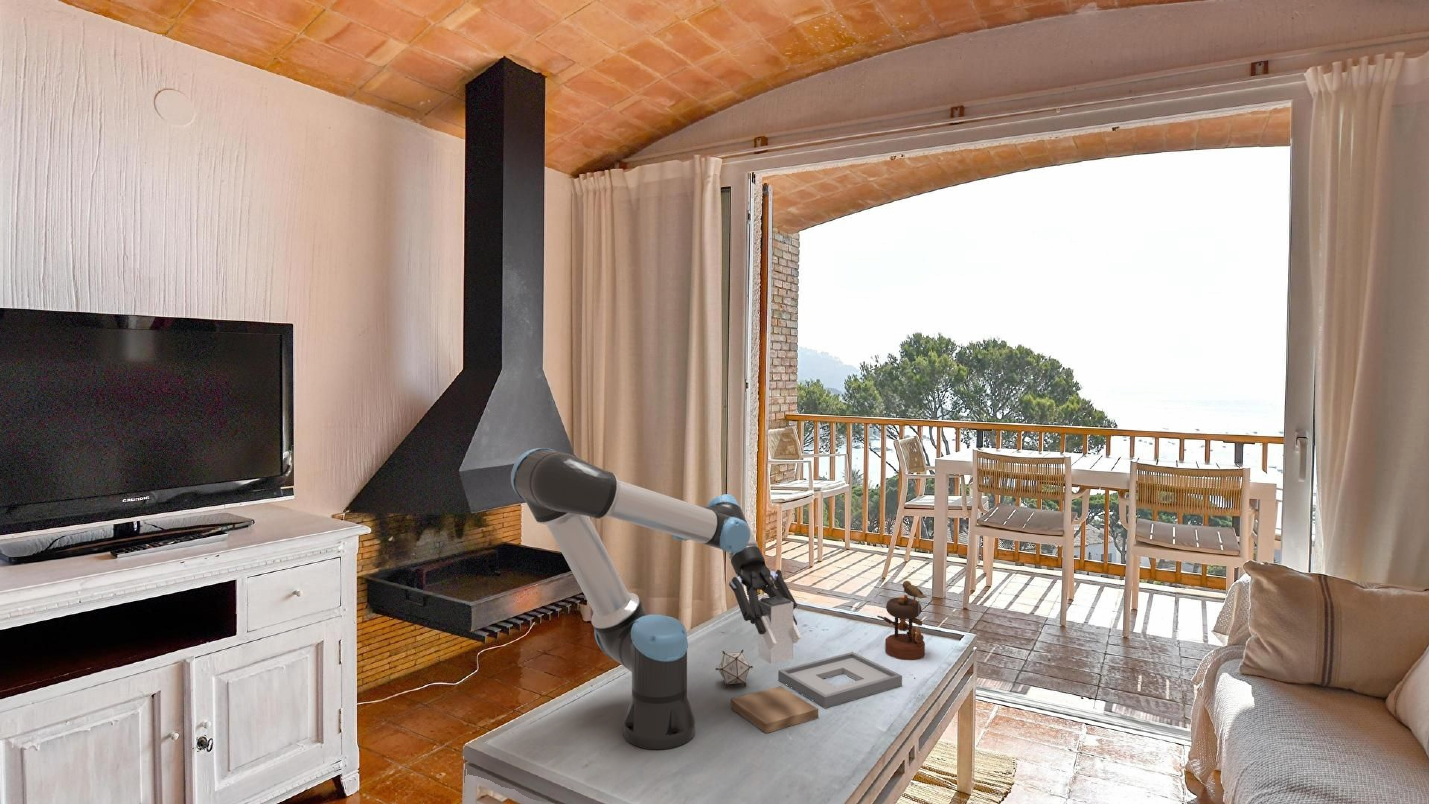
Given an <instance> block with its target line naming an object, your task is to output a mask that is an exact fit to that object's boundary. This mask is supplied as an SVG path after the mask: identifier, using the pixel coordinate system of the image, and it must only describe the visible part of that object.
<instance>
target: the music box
mask: <svg viewBox="0 0 1429 804" xmlns="http://www.w3.org/2000/svg"><path fill="white" fill-rule="evenodd" d="M902 588H903V593H905V594H903V597H902V596H899V597H892V598H889V600H887V602H886V604H885V609H886V612H887V613H888V615H889V616H891V617H892V618H893V617H894V621H893V620H891V619H890V618H888V617H886V616H882V615H876V616H877V618H879V619H882V620H883V621H884V622H886V623H888V624H889V625H891V624H892V626H894V633H893V634H890V635H888V636H887V637H886V638H885V639H884V641H885V643H884V647H885V648H884V649H885V651H884V652H885V654H886V655H887V656H889V657H892V658H893V659H898V660H904V661H917V660H920V659H923V658H924V657H925V655H926V653H925V651H926V643H925V641H924V639H925V636H924V635H923V634H922V633H921V630H920V628H919V627H921V626H923V620H921V619H920V615H921V613H922V605H921V603H920V599H926V598H928V596H927V595H926V594H924V593H923V592H922V590H920V589H919V587H918V586H916V585H913V584H912V582H911V581H909V580H904V581H903V582H902ZM908 596H909V597H910V598H909V597H908ZM911 597H913V598H911ZM916 598H917V599H918V600H916ZM906 620H908V623H907V622H906ZM913 624H915V625H918V628H917V627H916V626H913ZM899 631H900V632H901V631H903V632H906V633H899Z"/></svg>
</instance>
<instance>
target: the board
mask: <svg viewBox="0 0 1429 804" xmlns="http://www.w3.org/2000/svg"><path fill="white" fill-rule="evenodd" d="M730 708H731V709H732V710H733V711H734V712H736V713H737V714H738V715H741V716H742V717H743V718H745V719H746V720H747V721H748V722H749V723H751V724H752V725H754V726H755V727H757V728H758V729H759V730H761V731H762V732H764V733H765V734H768V733H772V732H774V731H779V730H782V729H784V728H789V727H791V726H796V725H798V724H802V723H805V722H808V721H812V720H815V719H818V718H819V708H818V707H816V706H814V705H813V704H811V703H810V702H808V701H806V700H804V699H803V698H801V697H799V696H798V695H796V694H794V693H793V692H791V691H790V690H788V689H786V688H785V687H783V686H782V685H780V686H777V687H772V688H768V689H764V690H761V691H757V692H753V693H749V694H745V695H741V696H738V697H735V698H730ZM811 719H812V720H811Z"/></svg>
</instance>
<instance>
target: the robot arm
mask: <svg viewBox="0 0 1429 804" xmlns="http://www.w3.org/2000/svg"><path fill="white" fill-rule="evenodd" d="M513 464H514V465H513V467H512V468H511V469H512V470H511V472H510V484H511V486H512V490H513V491H514V492H515V494H516V495H517V496H518V498H520V499H522V500H523V501H525V503H526V505H527V507H528V508H529V510H530V512H531V514H532V515H533V518H534V519H535V521H536V523H538V524H541V525H545V526H547V528H548V529H549V531H550V533H551V535H552V537H553V539H554V540H555V543H556V544H557V547H558V548H559V551H560V552H561V554H562V555H563V557H564V559H565V561H566V563H567V565H568V567H569V569H570V570H571V573H572V574H573V576H574V578H575V580H576V581H577V584H578V585H579V588H580V589H581V591H582V593H583V594H584V596H585V598H586V600H587V602H588V604H589V606H590V608H591V610H592V612H593V613H592V616H591V620H590V621H591V624H592V626H593V628H594V631H593V632H594V638H595V642H596V644H597V646H598V647H599V648H600V650H601V651H602V652H603V654H605V656H607V657H609V658H610V659H612V660H614V661H616V662H617V663H619V664H620V665H622V666H623V667H624V668H625V669H627V670H628V671H630V672H631V699H630V701H629V705H628V707H627V711H626V714H625V717H624V720H623V736H624V739H625V740H626V742H628V743H630V744H632V745H634V746H635V747H639V748H642V749H649V750H666V749H671V748H676V747H679V746H682V745H684V744H686V743H688V742H689V741H690V740H692V738H694V736H695V734H696V719H695V716H694V712H693V710H692V708H691V704H690V700H689V697H688V647H689V642H688V636H687V629H686V626H685V625H684V624H683V623H682V622H681V620H679V619H677V618H675V617H672V616H669V615H666V616H665V615H663V614H648V613H647V611H646V609H645V607H644V605H643V604H642V602H641V599H640V598H639V596H638V594H636V593H633V592H629V591H628V589H627V587H626V585H625V583H624V581H623V580H622V577H621V576H620V574H619V572H618V570H617V568H616V566H615V564H614V562H613V560H612V558H611V556H610V555H609V552H608V551H607V549H606V547H605V544H604V542H603V541H602V539H601V537H600V535H599V533H598V530H597V529H596V527H595V525H594V523H593V522H592V520H591V518H595V519H597V520H602V519H604V518H605V517H609V518H613V519H616V520H619V521H623V522H627V523H631V524H633V525H636V526H641V527H644V528H646V529H647V528H648V529H651V530H654V531H658V532H661V533H665V534H668V535H671V537H672V538H673V539H674V540H675V541H692V542H696V543H700V544H702V545H707V546H709V547H713V548H716V549H719V550H722V551H723V552H726V554H727V556H728V559H729V560H730V564H731V566H732V568H733V570H734V572H735V574H736V575H737V576H733V578H731V580H730V581H729V583H728V586H729V587H730V588H731V590H732V591H733V594H734V596H735V599H736V601H737V604H738V607H739V610H740V612H741V615H742V618H743V620H744V621H745V622H750V624H752V625H755V628H756V630H757V634H758V633H759V634H760V635H761V634H762V635H763V637H764V640H765V642H766V644H767V646H768V649H772V648H773V647H774V646H775V644H776V643H777V642H776V640H775V638H774V636H773V633H772V631H771V629H770V627H769V625H768V622H767V620H766V618H765V616H762V617H760V616H761V613H760V606H759V603H758V601H760V599H759V595H758V594H759V593H758V591H759V590H761V591H762V592H763V593H764V594H766V595H767V597H768V598H770V597H775V596H782V597H784V598H786V599H788V600H791V602H793V611H794V610H795V608H796V607H797V606H798V603H797V601H796V600H795V598H794V596H793V595H792V593H791V591H790V589H789V587H788V586H787V584H786V581H785V580H784V579H783V573H782V570H781V569H776V571H773V570H770V568H769V567H768V566H767V564H766V561H765V558H764V555H763V553H762V551H761V548H759V544H758V542H757V540H756V538H755V537H754V534H753V532H752V530H751V527H750V526H749V524H748V522H747V520H746V517H745V514H744V513H743V510H742V508H741V506H740V505H739V503H738V501H737V499H736V498H735V496H733V495H731V494H728V493H727V494H726V493H724V494H722V495H720V496H716V497H714V498H712V499H711V500H710V501H708V504H707V506H706V505H704V506H701V505H697V504H693V503H690V502H688V501H684V500H681V499H678V498H675V497H673V496H668V495H666V494H663V493H660V492H657V491H654V490H650V489H648V488H644V487H642V486H638V485H636V484H632V483H629V482H626V481H622V480H619V479H618V477H617V475H616V474H615V473H614V472H612V471H609V470H605V469H602V468H600V467H598V466H596V465H594V464H592V463H589V462H587V461H586V460H583V459H582V458H579V457H578V456H575V455H572V454H570V453H566V452H562V451H561V452H560V451H557V450H554V449H552V448H548V447H540V448H532V449H529V450H527V451H526V452H524V453H522V454H521V455H520V456H519V457H518V458H517V459H516V461H515V462H514V463H513ZM744 587H745V589H744ZM745 590H746V592H745ZM797 625H798V621H797V619H796V617H795V614H793V644H797V643H798V642H799V641H800V640H801V639H802V635H801V633H800V631H799V629H798V627H797Z"/></svg>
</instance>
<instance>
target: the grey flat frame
mask: <svg viewBox="0 0 1429 804" xmlns="http://www.w3.org/2000/svg"><path fill="white" fill-rule="evenodd" d="M842 674H843V675H845V676H847V677H849V678H851V679H853V680H854V679H855V681H852V682H849V683H848V682H847V683H845V684H842V685H838V686H836V685H834V684H832V683H830V682H829V681H826V680H825V679H827V677H828V678H831V677H830V676H832V677H836V676H840V675H842ZM777 678H778V681H779V682H780V681H781V683H782V682H783V683H782V684H783V685H785V684H787V685H788V687H789V688H790V687H792V688H793V689H792V688H791V689H792V690H794V691H795V692H797V691H798V693H800V695H802V694H803V695H802V696H804V697H806V698H807V697H808V698H807V699H809V700H811V701H812V700H813V701H812V702H814V703H816V704H817V703H818V705H819V706H820V707H822V706H823V707H822V708H824V709H827V708H830V707H834V706H837V705H841V704H844V703H848V702H850V701H854V700H857V699H858V700H859V699H861V698H865V697H868V696H872V695H875V694H878V693H879V694H880V693H881V692H884V690H885V691H889V690H892V689H895V687H896V688H898V687H902V686H903V675H901V674H900V673H898V672H895V671H893V670H891V669H889V668H887V667H885V666H883V665H881V664H879V663H876V662H875V661H872V660H870V659H869V658H866V657H863V656H862V655H859V654H858V653H856V652H853V651H850V652H847V653H842V654H839V655H835V656H830V657H827V658H823V659H818V660H815V661H814V660H813V661H810V662H806V663H803V664H798V665H795V666H790V667H786V668H783V669H778V677H777ZM824 678H825V679H824ZM787 685H786V686H787Z"/></svg>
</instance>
